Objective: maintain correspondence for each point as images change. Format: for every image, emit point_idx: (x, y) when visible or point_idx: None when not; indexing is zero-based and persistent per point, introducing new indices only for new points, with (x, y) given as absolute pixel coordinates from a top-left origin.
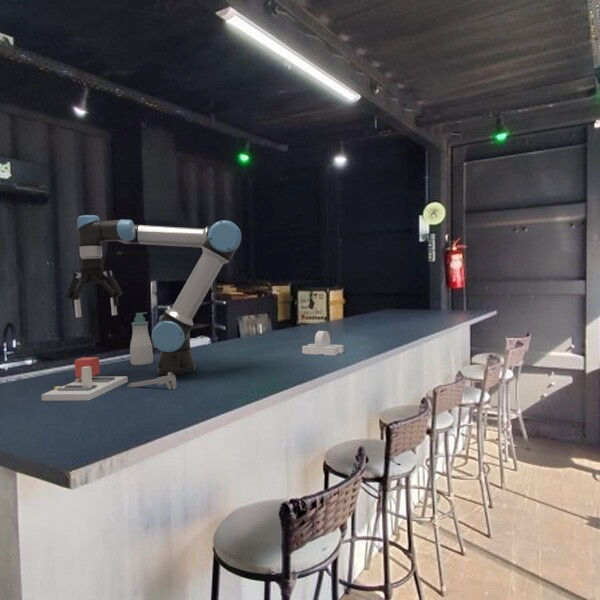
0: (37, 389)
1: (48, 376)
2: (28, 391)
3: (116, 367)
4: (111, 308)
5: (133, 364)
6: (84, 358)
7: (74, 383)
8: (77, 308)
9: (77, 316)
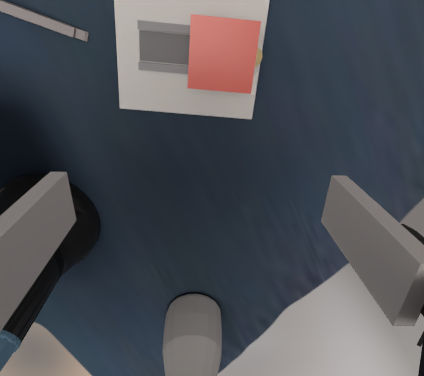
0: (369, 31)
1: (390, 203)
2: (389, 4)
3: (243, 281)
4: (39, 196)
5: (206, 296)
6: (234, 61)
7: (249, 16)
8: (363, 217)
9: (336, 178)
